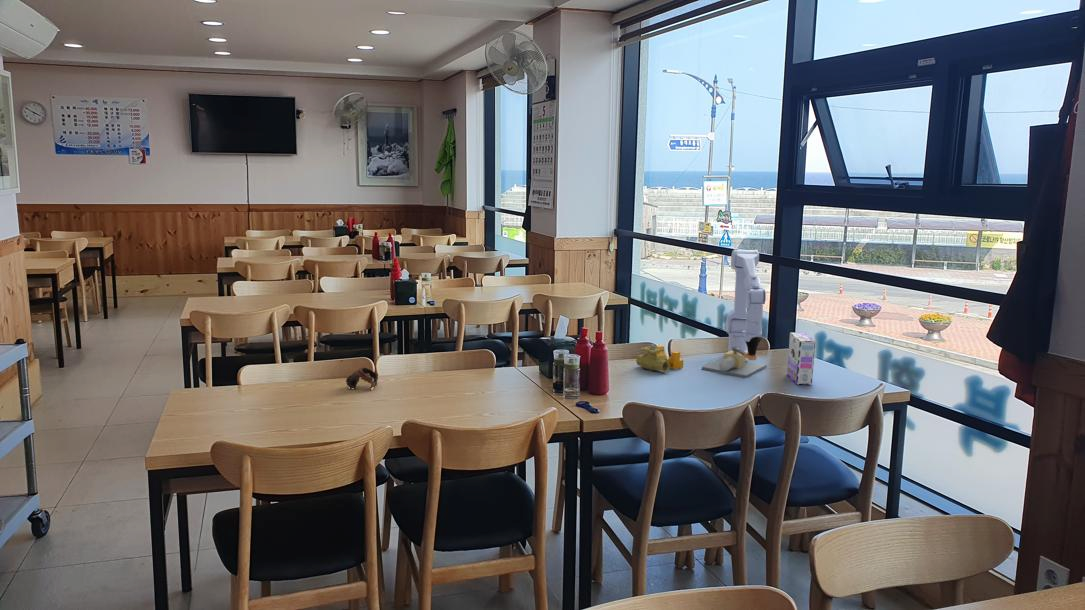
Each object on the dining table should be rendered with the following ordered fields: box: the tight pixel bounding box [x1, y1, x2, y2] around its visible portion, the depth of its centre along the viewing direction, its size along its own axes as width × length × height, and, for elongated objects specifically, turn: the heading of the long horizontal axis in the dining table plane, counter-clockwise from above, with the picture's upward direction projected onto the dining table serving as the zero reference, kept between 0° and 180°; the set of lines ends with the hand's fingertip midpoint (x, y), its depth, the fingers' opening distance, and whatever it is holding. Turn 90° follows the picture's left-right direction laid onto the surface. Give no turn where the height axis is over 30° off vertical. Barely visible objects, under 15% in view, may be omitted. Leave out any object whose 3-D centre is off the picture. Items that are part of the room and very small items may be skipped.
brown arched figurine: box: [345, 367, 379, 389], centre depth 281 cm, size 12×10×8 cm
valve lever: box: [732, 347, 757, 361], centre depth 308 cm, size 14×3×1 cm, turn 17°
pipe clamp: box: [655, 344, 684, 370], centre depth 318 cm, size 12×4×6 cm, turn 28°
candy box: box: [786, 332, 817, 386], centre depth 299 cm, size 14×6×16 cm, turn 178°
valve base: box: [701, 350, 767, 379], centre depth 314 cm, size 19×18×7 cm
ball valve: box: [635, 343, 670, 373], centre depth 311 cm, size 13×10×10 cm
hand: (751, 356), depth 306 cm, fingers closed, pressing on valve lever
